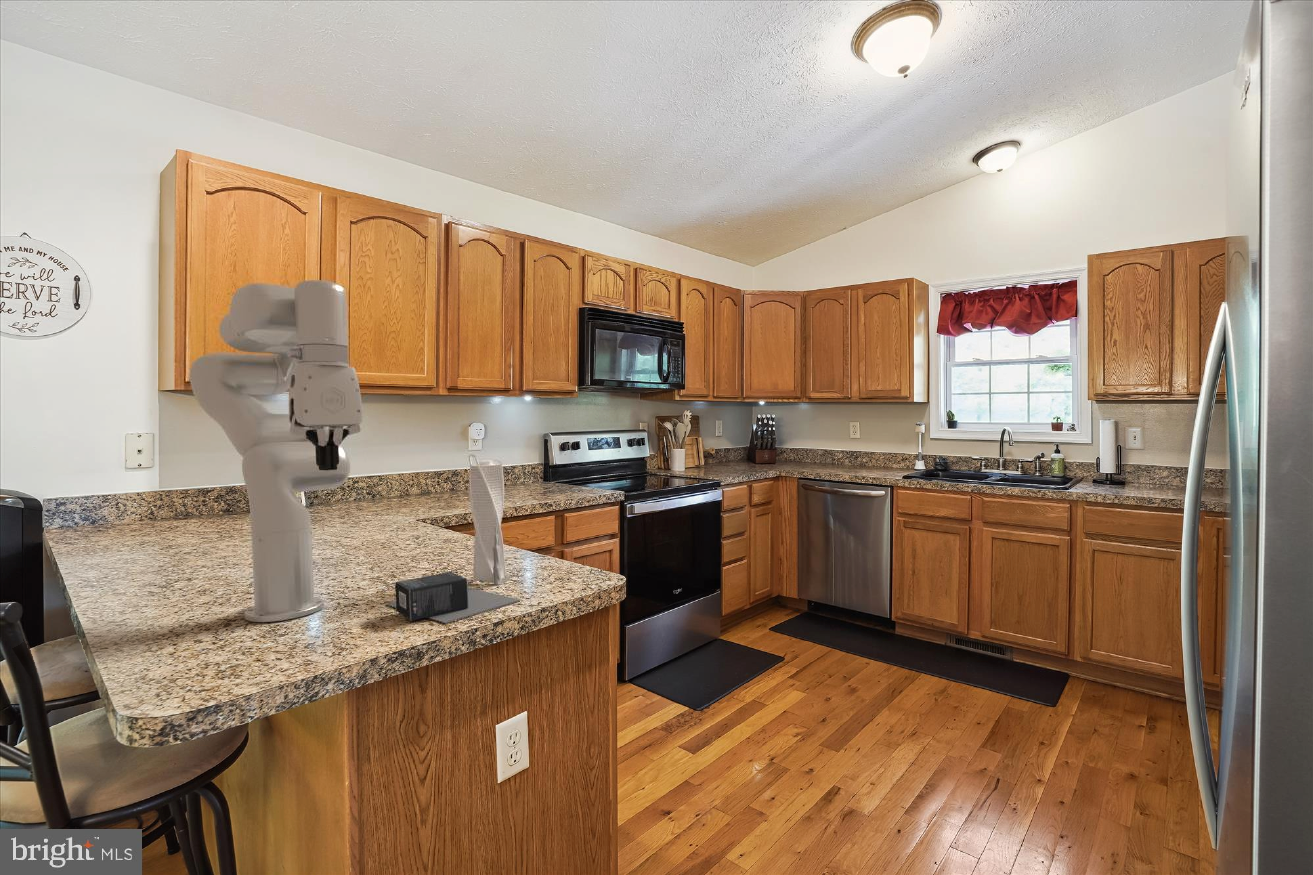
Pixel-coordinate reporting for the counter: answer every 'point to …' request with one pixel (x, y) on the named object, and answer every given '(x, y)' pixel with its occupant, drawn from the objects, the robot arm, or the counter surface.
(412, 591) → the box
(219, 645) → the counter surface
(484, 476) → the skyscraper
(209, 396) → the robot arm
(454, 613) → the mat
